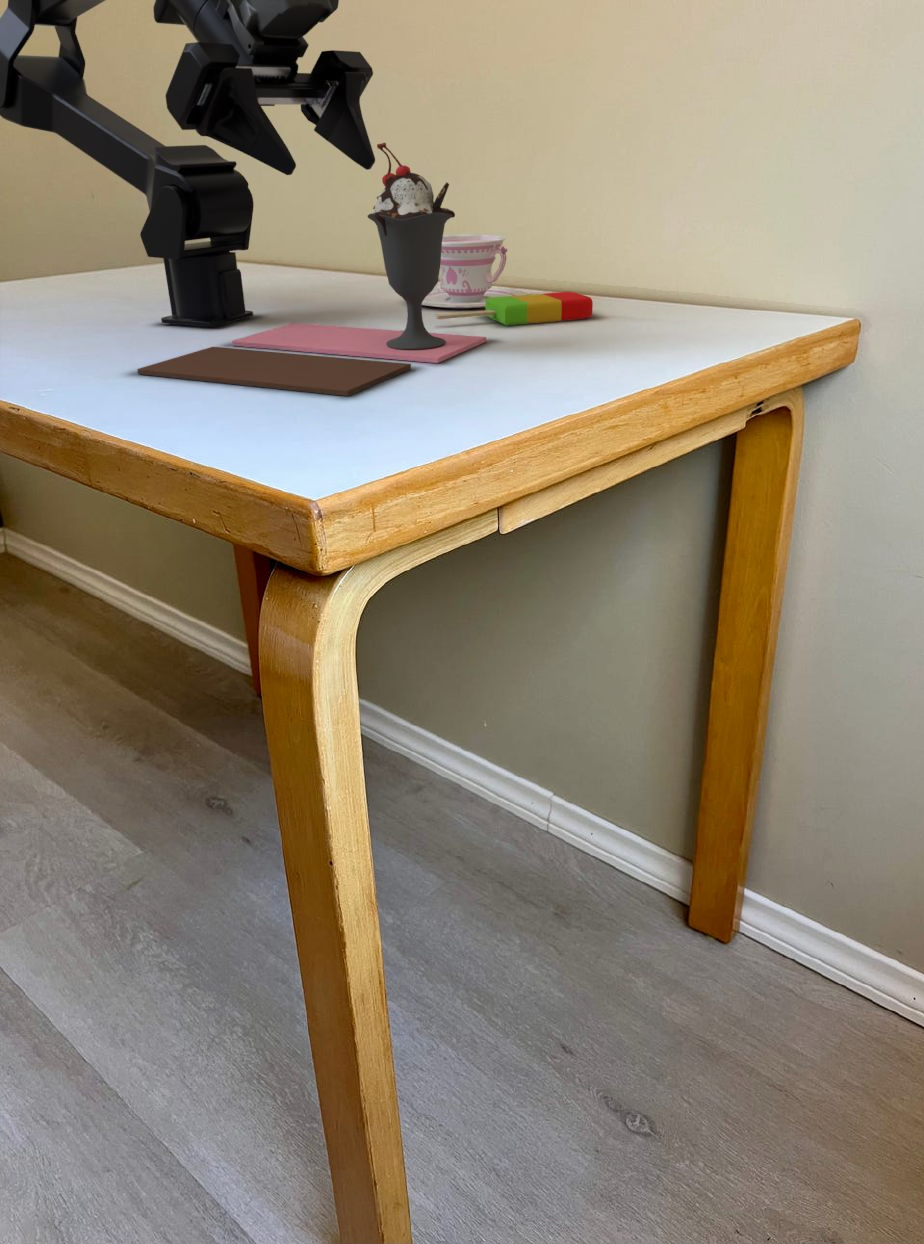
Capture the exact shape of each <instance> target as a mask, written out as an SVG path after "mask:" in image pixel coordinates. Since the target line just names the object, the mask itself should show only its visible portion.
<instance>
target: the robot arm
mask: <svg viewBox="0 0 924 1244" xmlns="http://www.w3.org/2000/svg"><path fill="white" fill-rule="evenodd" d="M105 1H106V0H7V6H6V9H5V10H4V12H3V14H2V15H1V17H0V116H1V118H2V119H3V120H5V121H8V122H11V123H13V124H16V125H18V126H21V127H24V128H29V129H33V130H38V131H44V132H48V133H54V134H56V135H58V136H59V137H60V138H62V139H64V140H65V141H66V142H68V143H69V144H70V145H72V146H73V147H75V148H77V149H78V150H80V151H81V152H82V153H84V154H85V155H87V156H89V157H90V158H91V159H93V160H94V161H95V162H97V163H98V164H100V165H102V166H103V167H104V168H106V169H107V170H109V171H110V172H112V173H113V174H114V175H116V176H117V177H118V178H120V179H122V180H123V181H124V182H126V183H127V184H129V185H131V186H132V187H134V188H135V189H137V190H138V191H139V192H140V193H142V194H144V195H145V196H146V202H147V205H148V210H149V213H148V215H147V217H146V218H145V221H144V224H143V225H142V228H141V231H140V234H139V236H140V239H141V242H142V244H143V247H144V250H145V252H146V255H147V257H148V258H157V259H163V265H164V272H165V279H166V285H167V292H168V299H169V304H170V311H171V315H167V316H163V317H161V318H160V320H161V321H160V322H161V323H162V324H169V325H170V324H171V325H183V326H195V327H208V328H209V327H217V326H221V325H222V326H223V325H225V324H228V323H232V322H237V321H240V320H243V319H247V318H251V317H254V310H246V304H245V296H244V295H245V294H244V288H243V279H242V272H241V270H240V269H239V268H238V262H237V255H236V253H237V252H236V251H248V250H249V248H250V239H251V231H252V224H253V223H252V222H253V216H254V214H253V212H254V206H255V205H254V198H253V194H252V191H251V190H250V188H249V182H248V181H247V179H246V177H245V176H244V175H243V173H241V172H240V171H238V170H237V169H236V167H237V164H238V163H237V162H236V160H235V161H233V160H227V159H225V158H223V157H222V156H221V155H220V154H219V153H218V152H217V151H216V150H215V149H213V148H212V147H210V146H208V145H206V144H195V145H194V144H193V145H165V144H163V143H162V142H160V141H159V140H157V139H155V138H154V137H153V136H151V135H150V134H148V133H146V132H145V131H144V130H141V128H139V127H137V126H136V125H134V124H132V123H131V122H129V121H128V120H127V119H124V117H121V116H120V115H119V114H117V113H116V112H114V111H113V110H111V109H110V108H108V107H107V106H105V105H104V104H102V103H101V102H99V101H97V100H96V99H94V98H93V97H91V96H90V95H89V94H88V92H87V86H86V82H85V79H84V75H85V69H86V59H85V57H84V54H83V50H82V47H81V45H80V42H79V39H78V35H77V32H76V29H77V23H78V17H80V16H81V15H83V14H85V13H86V12H88V11H90V10H92V9H93V8H95V7H96V6H99V5H100V4H102V3H103V2H105ZM154 1H155V2H154V5H153V19H154V22H155V23H156V24H163V25H165V24H166V25H178V26H185V27H186V28H187V30H188V31H189V32H190V33H191V34H192V36H193V37H194V39H195V40H196V42H187V43H185V44H184V47H183V49H182V52H181V55H180V57H179V60H178V62H177V65H176V67H175V70H174V72H173V74H172V77H171V80H170V82H169V84H168V86H167V90H166V92H165V103H166V109H167V110H168V113H169V114H170V116H171V117H172V118H173V120H174V121H175V122H176V124H177V125H178V126H179V128H180V129H181V130H182V131H195V132H196V133H197V134H198V135H199V136H200V137H208V138H211V139H213V140H214V141H217V142H219V143H221V144H223V145H225V146H227V147H229V148H232V149H233V150H237V151H239V152H241V153H243V154H245V155H247V156H248V157H251V158H252V159H255V160H257V161H258V162H260V163H263V164H265V165H266V166H268V167H270V168H272V169H274V170H276V171H278V172H280V173H281V174H284V175H285V176H291V175H293V173H294V171H295V169H296V167H297V164H296V161H295V159H294V158H293V155H292V153H291V152H290V150H289V148H288V146H287V145H286V143H285V142H284V140H283V138H282V137H281V136H280V133H278V131H277V129H276V128H275V126H274V125H273V122H272V121H271V120H270V118H269V116H268V115H267V114H266V111H264V109H263V108H262V107H275V106H276V105H300V111H301V113H302V114H303V116H304V117H305V119H306V120H307V121H308V122H310V123H311V124H313V125H315V126H314V128H313V131H314V132H315V133H316V134H317V135H319V136H320V137H321V138H323V139H324V140H325V141H327V142H328V143H329V144H330V145H332V146H333V147H334V148H336V149H337V150H339V151H340V152H341V153H342V154H343V155H345V156H347V157H348V158H349V159H350V160H351V161H353V162H354V163H356V164H357V165H359V166H360V167H361V168H363V169H365V170H366V171H368V170H369V171H370V170H371V169H372V168H373V166H374V164H375V163H376V157H375V154H374V150H373V147H372V143H371V141H370V137H369V134H368V131H367V127H366V124H365V121H364V117H363V112H362V109H361V108H362V107H361V102H360V101H361V96H362V95H363V93H364V92H365V89H366V88H367V86H368V84H369V82H370V81H371V79H372V78H373V76H374V70H373V68H372V66H371V65H370V63H369V62H368V61H367V59H366V58H365V57H364V55H363V54H362V53H361V51H353V50H335V49H332V50H331V49H330V50H321V52H320V53H319V56H318V58H317V60H316V61H315V64H314V66H313V68H312V70H311V71H310V72H298V71H299V64H298V63H297V61H298V59H299V58H304V56H305V53H306V52H307V50H308V48H309V45H310V44H309V43H308V42H307V40H306V38H305V37H304V36H306V35H307V34H308V33H309V32H311V31H312V29H314V28H315V27H316V26H317V25H319V23H324V22H325V21H326V20H327V19H328V18H329V17H330V16H331V15H332V14H333V13H334V12H335V11H337V10H338V9H339V2H340V0H154ZM35 26H44V27H54V29H55V32H56V35H57V38H58V40H59V42H60V43H59V48H58V49H59V50H58V56H50V55H49V56H47V55H22V54H20V53H21V51H22V50H23V48H24V47H25V45H26V44H27V42H28V41H29V39H30V38H31V36H32V35H33V33H34V31H35ZM204 239H205V240H206V239H209V240H207V241H199V242H193V243H191V242H190V243H186V242H187V241H195V240H196V241H197V240H204Z"/></svg>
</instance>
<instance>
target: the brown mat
mask: <svg viewBox="0 0 924 1244" xmlns="http://www.w3.org/2000/svg"><path fill="white" fill-rule="evenodd" d="M136 369H137V374H138V375H142V376H144V375H145V376H154V377H162V378H169V379H170V378H171V379H182V380H189V381H190V380H191V381H199V382H210V383H218V384H228V385H229V384H230V385H239V386H247V387H256V388H267V389H274V390H275V389H276V390H283V391H285V390H286V391H295V392H304V393H313V394H324V395H330V396H331V395H333V396H340V397H341V396H342V397H349V396H352V395H354V394H357V393H359V392H361V391H364V390H366V389H368V388H370V387H373V386H375V385H377V384H379V383H382V382H384V381H386V380H389V379H391V378H393V377H395V376H398V375H400V374H402V373H405V372H408V371H410V370H411V369H412V364H411V363H404V362H395V361H393V362H392V361H383V360H371V359H360V358H349V357H336V356H326V355H325V356H324V355H314V354H313V355H312V354H303V353H302V354H301V353H292V352H291V353H289V352H278V351H269V350H266V351H265V350H257V349H256V350H254V349H245V348H244V349H243V348H235V347H234V348H233V347H221V346H210V347H207V348H204V349H201V350H198V351H197V350H196V351H193V352H190V353H187V354H183V355H180V356H176V357H173V358H170V359H166V360H163V361H160V362H156V363H153V364H149V365H146V366H143V367H140V368H136Z"/></svg>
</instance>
